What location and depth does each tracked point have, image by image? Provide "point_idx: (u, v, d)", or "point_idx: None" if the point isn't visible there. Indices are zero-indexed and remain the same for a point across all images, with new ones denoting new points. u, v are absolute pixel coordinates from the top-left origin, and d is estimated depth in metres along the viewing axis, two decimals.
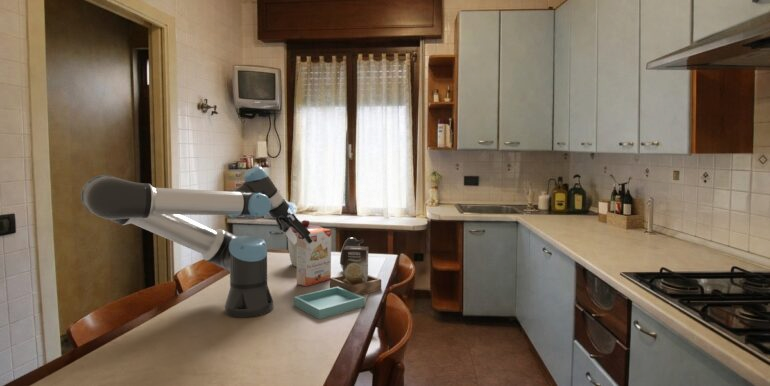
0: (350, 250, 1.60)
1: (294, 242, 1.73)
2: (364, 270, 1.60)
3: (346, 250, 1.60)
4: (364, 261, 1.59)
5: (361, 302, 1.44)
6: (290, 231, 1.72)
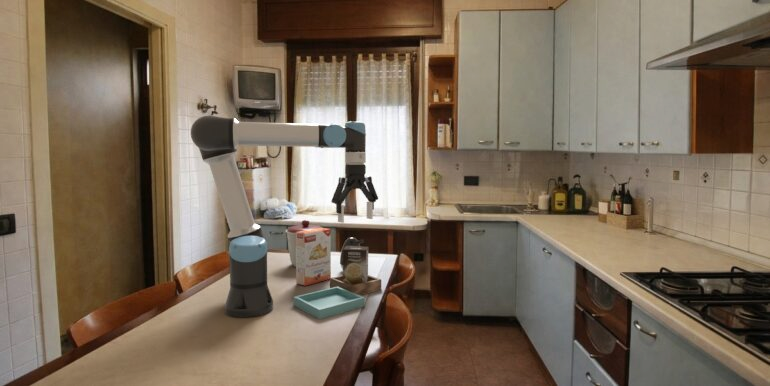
0: (350, 250, 1.60)
1: (367, 216, 1.66)
2: (364, 270, 1.60)
3: (346, 250, 1.60)
4: (364, 261, 1.59)
5: (361, 302, 1.44)
6: (369, 204, 1.65)
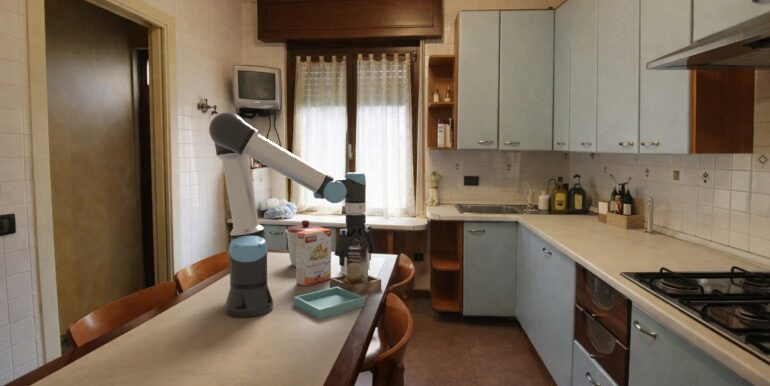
0: (350, 250, 1.60)
1: None
2: (364, 270, 1.60)
3: None
4: (364, 261, 1.59)
5: (361, 302, 1.44)
6: None
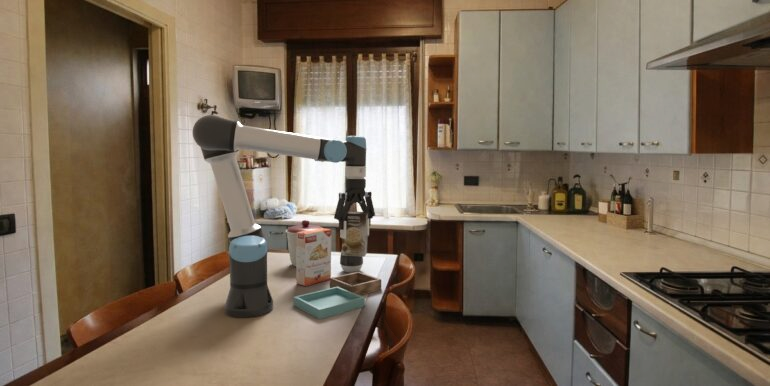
0: (350, 214, 1.58)
1: None
2: (364, 234, 1.59)
3: None
4: (363, 225, 1.58)
5: (361, 302, 1.44)
6: None
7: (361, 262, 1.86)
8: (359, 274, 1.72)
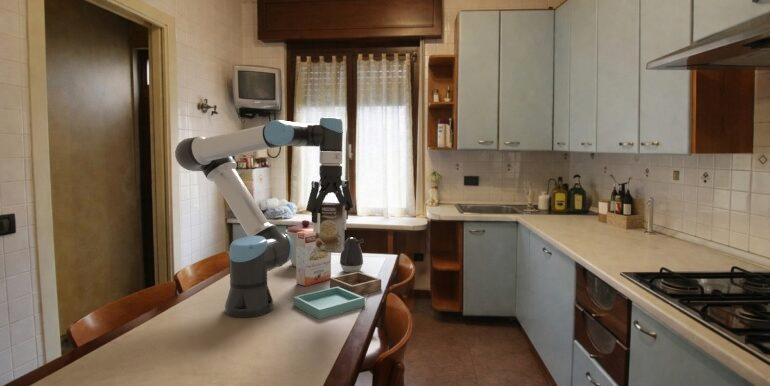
0: (324, 205, 1.41)
1: None
2: (340, 228, 1.41)
3: None
4: (340, 218, 1.41)
5: (361, 302, 1.44)
6: None
7: (361, 262, 1.86)
8: (359, 274, 1.72)
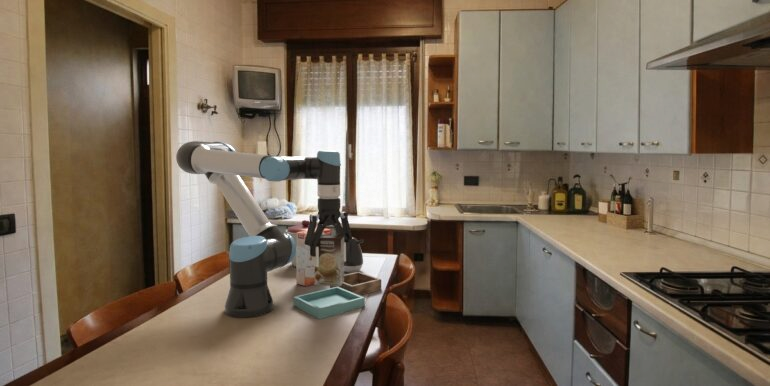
0: (322, 239, 1.40)
1: None
2: (339, 261, 1.40)
3: None
4: (338, 251, 1.40)
5: (361, 302, 1.44)
6: None
7: (361, 262, 1.86)
8: (359, 274, 1.72)
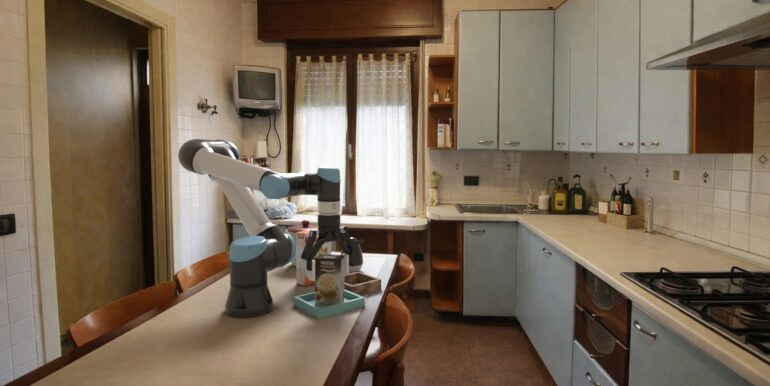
0: (323, 259, 1.41)
1: None
2: (339, 282, 1.41)
3: (318, 259, 1.41)
4: (338, 272, 1.41)
5: (361, 302, 1.44)
6: (345, 257, 1.48)
7: (361, 262, 1.86)
8: (359, 274, 1.72)
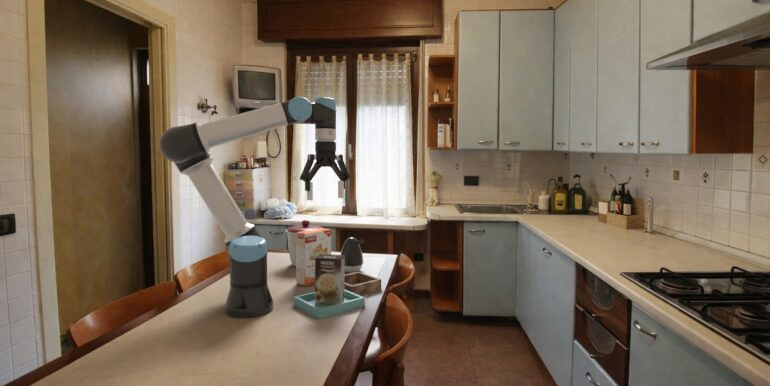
0: (323, 259, 1.41)
1: (339, 195, 1.63)
2: (339, 282, 1.41)
3: (318, 259, 1.41)
4: (338, 272, 1.41)
5: (361, 302, 1.44)
6: (341, 183, 1.61)
7: (361, 262, 1.86)
8: (359, 274, 1.72)
